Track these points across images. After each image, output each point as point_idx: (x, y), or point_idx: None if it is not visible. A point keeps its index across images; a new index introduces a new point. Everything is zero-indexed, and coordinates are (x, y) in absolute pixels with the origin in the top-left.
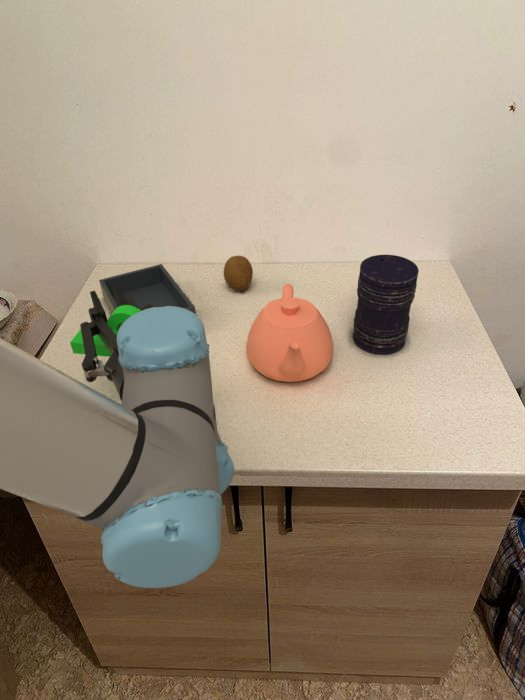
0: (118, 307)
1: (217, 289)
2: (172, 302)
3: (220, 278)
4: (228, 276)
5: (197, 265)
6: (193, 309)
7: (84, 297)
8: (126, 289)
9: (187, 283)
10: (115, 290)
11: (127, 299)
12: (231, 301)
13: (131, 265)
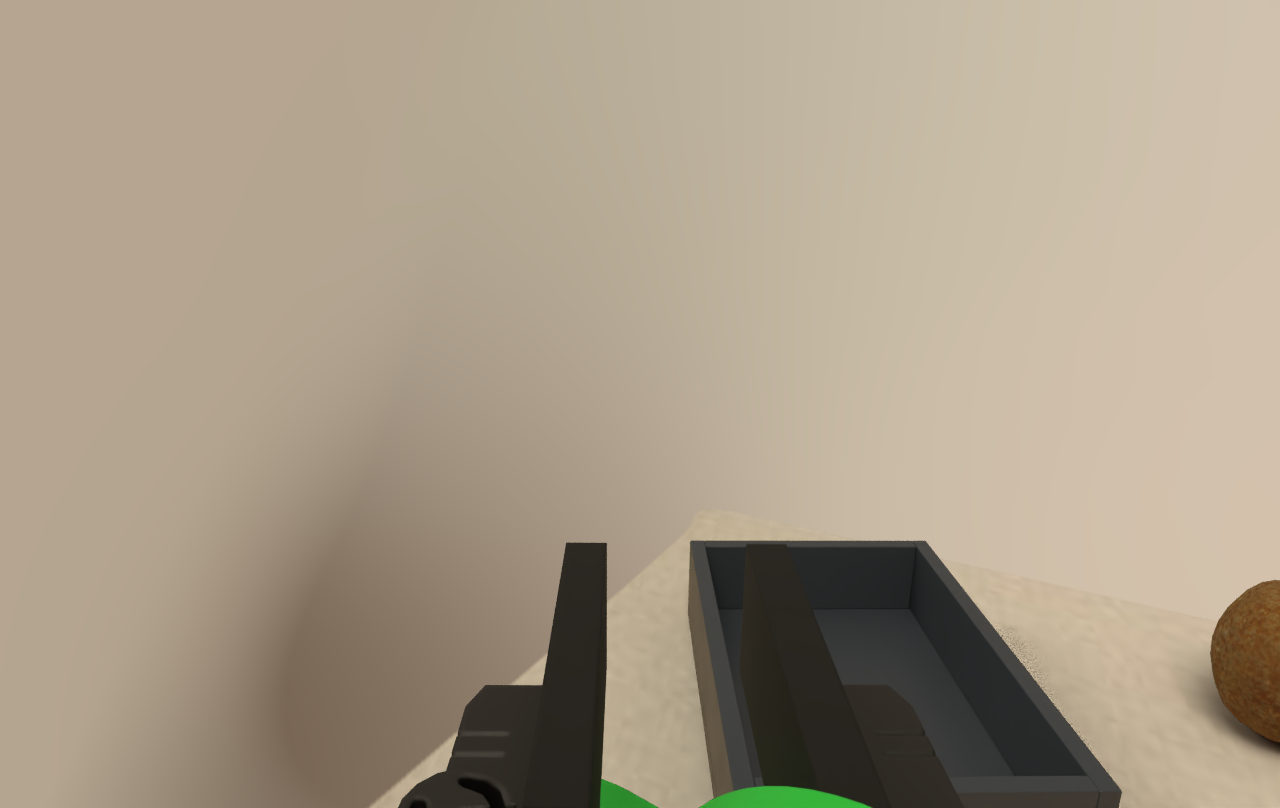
0: (760, 799)
1: (1155, 704)
2: (955, 707)
3: (1155, 657)
4: (1256, 666)
5: (1041, 582)
6: (1110, 800)
7: (628, 589)
8: None
9: (1009, 640)
10: (762, 583)
11: (856, 700)
12: (1254, 791)
13: (804, 528)
